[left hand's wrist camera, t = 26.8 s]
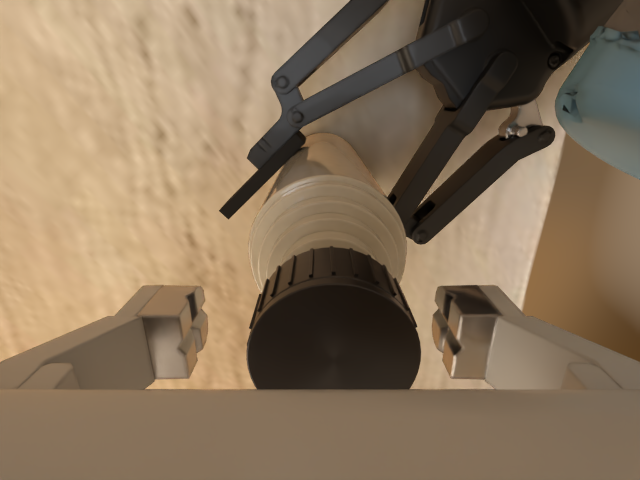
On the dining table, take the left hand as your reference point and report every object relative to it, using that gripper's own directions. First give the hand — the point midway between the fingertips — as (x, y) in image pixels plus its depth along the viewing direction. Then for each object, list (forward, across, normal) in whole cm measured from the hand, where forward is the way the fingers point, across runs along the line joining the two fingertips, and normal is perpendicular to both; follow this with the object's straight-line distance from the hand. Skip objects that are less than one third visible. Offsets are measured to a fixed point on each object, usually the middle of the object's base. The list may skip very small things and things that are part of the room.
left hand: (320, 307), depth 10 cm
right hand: (+14, -4, -4) cm, 15 cm away
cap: (-2, 0, 0) cm, 2 cm away
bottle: (+20, 0, 0) cm, 20 cm away
